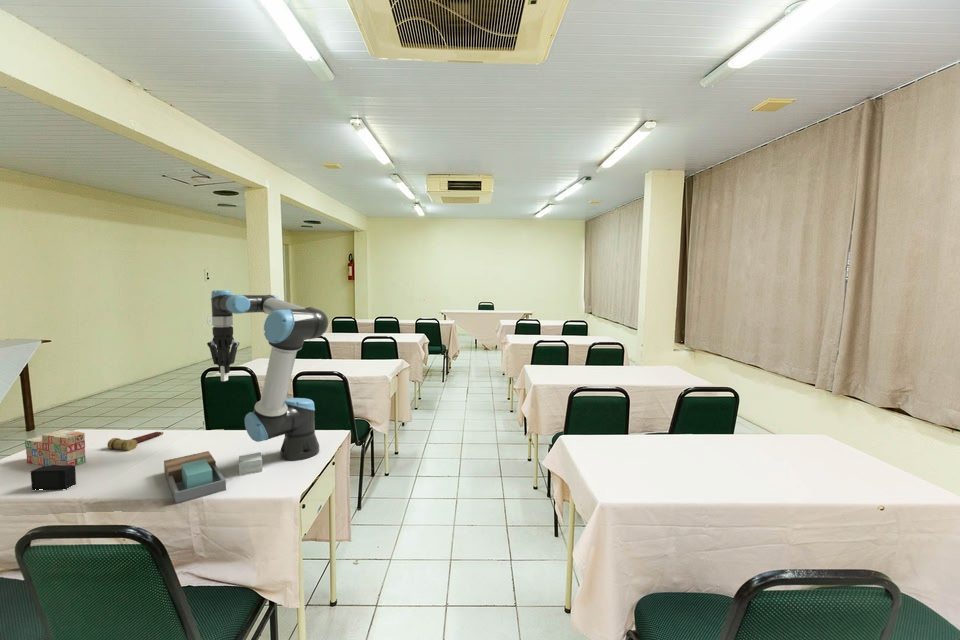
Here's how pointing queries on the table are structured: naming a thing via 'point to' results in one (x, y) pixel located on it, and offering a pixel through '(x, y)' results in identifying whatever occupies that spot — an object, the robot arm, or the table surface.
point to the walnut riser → (175, 465)
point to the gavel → (130, 441)
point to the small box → (250, 463)
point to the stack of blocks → (57, 448)
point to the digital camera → (53, 477)
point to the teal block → (196, 474)
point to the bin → (197, 488)
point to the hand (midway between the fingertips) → (224, 380)
